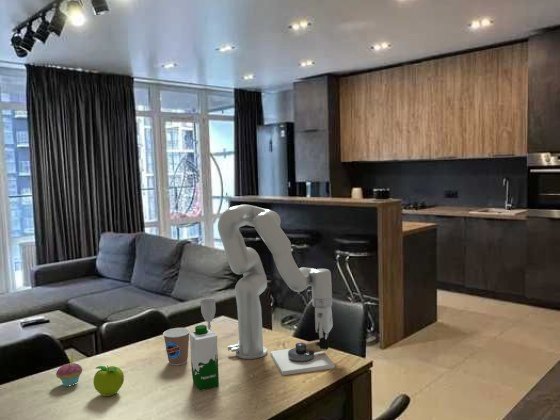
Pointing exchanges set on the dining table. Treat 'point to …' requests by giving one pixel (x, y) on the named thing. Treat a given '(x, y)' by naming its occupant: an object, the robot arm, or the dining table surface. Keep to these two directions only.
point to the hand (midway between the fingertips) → (324, 348)
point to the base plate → (290, 367)
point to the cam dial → (304, 351)
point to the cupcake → (69, 373)
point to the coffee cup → (177, 345)
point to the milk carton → (204, 358)
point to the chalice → (208, 310)
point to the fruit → (108, 380)
